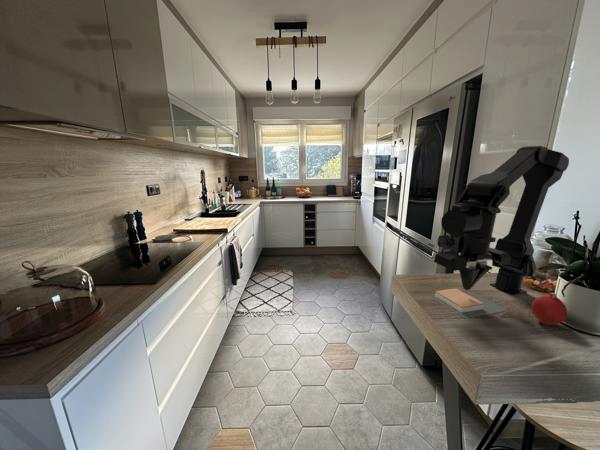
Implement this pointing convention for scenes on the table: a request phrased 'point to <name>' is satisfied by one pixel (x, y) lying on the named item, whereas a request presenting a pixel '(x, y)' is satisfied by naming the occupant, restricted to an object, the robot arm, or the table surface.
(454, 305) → the tile
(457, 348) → the table surface
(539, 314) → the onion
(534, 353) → the table surface
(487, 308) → the mat
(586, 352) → the table surface
